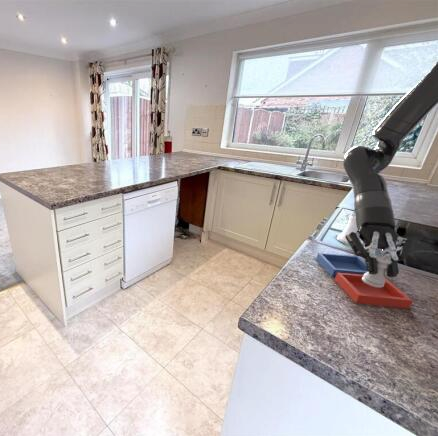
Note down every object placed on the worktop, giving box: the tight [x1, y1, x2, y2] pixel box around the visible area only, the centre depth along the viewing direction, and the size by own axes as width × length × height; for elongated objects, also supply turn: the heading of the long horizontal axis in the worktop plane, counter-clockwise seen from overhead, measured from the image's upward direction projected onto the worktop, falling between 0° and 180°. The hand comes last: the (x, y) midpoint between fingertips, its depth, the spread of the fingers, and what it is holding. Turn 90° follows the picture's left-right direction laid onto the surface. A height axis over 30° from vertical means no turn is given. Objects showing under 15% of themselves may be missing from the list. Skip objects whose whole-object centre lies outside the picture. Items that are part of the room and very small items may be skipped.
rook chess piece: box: [362, 253, 392, 288], centre depth 62 cm, size 4×4×8 cm
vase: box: [336, 213, 364, 246], centre depth 90 cm, size 8×8×10 cm
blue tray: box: [315, 252, 367, 278], centre depth 74 cm, size 12×10×2 cm
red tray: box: [334, 273, 414, 309], centre depth 64 cm, size 12×10×2 cm
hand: (382, 274), depth 60 cm, fingers closed on rook chess piece, 3 cm apart
